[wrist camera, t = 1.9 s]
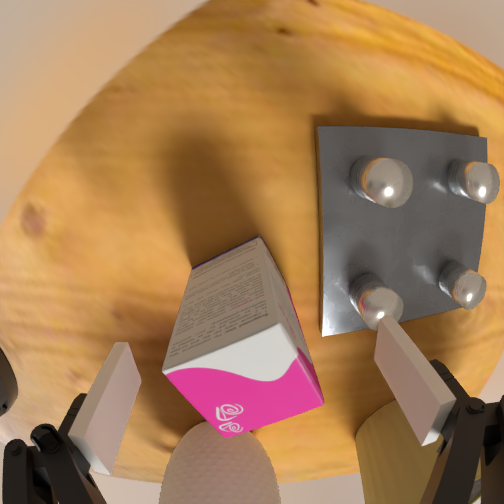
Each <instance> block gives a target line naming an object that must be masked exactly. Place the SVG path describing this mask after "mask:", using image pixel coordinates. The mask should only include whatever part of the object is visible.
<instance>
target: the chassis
mask: <svg viewBox="0 0 504 504" xmlns="http://www.w3.org/2000/svg"><path fill="white" fill-rule="evenodd" d="M314 131H315V145H316V160H317V178H318V200H319V231H320V325H319V330H320V332H321V335H322V336H328V335H335V334H341V333H347V332H352V331H358V330H364V329H369V328H370V329H372V330H374V331H378V327H379V319H380V318H385V317H390V316H393V318H394V319H395V320H396V321H397V323H399V322H404V321H408V320H413V319H417V318H421V317H426V316H430V315H434V314H438V313H442V312H446V311H450V310H454V309H458V308H461V307H463V308H464V309H466V310H470V309H473V308H475V307H476V306H477V305H478V304H479V303H480V302H481V300H482V299H483V297H484V295H485V291H486V280H485V279H484V278H483V277H482V276H481V275H479V274H477V272H478V266H479V260H480V254H481V247H482V239H483V231H484V221H485V210H486V204H489V203H491V202H492V201H494V199H495V198H496V196H497V194H498V191H499V186H500V180H499V175H498V172H497V170H496V168H495V167H494V166H493V165H491V164H488V163H487V138H484V137H478V136H471V135H464V134H456V133H448V132H439V131H429V130H418V129H404V128H387V127H359V126H318V127H314Z"/></svg>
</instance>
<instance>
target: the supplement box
mask: <svg viewBox="0 0 504 504" xmlns="http://www.w3.org/2000/svg"><path fill="white" fill-rule="evenodd" d="M162 372H163V374H165V375H166V377H167V378H168V379H169V380H170V382H171V383H172V384H173V385H174V386H175V387H176V388H177V389H178V390H179V392H180V393H181V394H182V395H183V396H184V397H185V398H186V399H187V400H188V401H189V402H190V403H191V405H192V406H193V407H194V408H195V409H196V410H197V411H198V412H199V413H200V414H201V415H202V416H203V417H204V418H205V419H206V420H207V421H208V422H209V423H210V424H211V425H212V426H213V427H214V428H215V429H216V430H217V431H218V432H219V433H220V434H221V435H222V436H223V437H224V438H227V437H231V436H235V435H238V434H242V433H245V432H248V431H251V430H254V429H257V428H260V427H263V426H266V425H269V424H272V423H275V422H278V421H281V420H284V419H287V418H289V417H292V416H295V415H298V414H301V413H303V412H306V411H309V410H311V409H314V408H317V407H319V406H322V405H323V404H324V397H323V394H322V391H321V388H320V385H319V381H318V378H317V375H316V372H315V369H314V366H313V363H312V360H311V356H310V353H309V350H308V347H307V344H306V341H305V338H304V335H303V332H302V329H301V326H300V323H299V320H298V316H297V313H296V311H295V308H294V305H293V302H292V299H291V295H290V292H289V290H288V288H287V286H286V284H285V282H284V279H283V277H282V275H281V273H280V271H279V270H278V268H277V266H276V264H275V262H274V260H273V258H272V256H271V254H270V252H269V250H268V248H267V246H266V245H265V243H264V241H263V239H262V237H261V236H260V235H259V236H257V237H254V238H252V239H250V240H248V241H246V242H244V243H242V244H240V245H238V246H236V247H234V248H232V249H230V250H228V251H226V252H224V253H222V254H220V255H218V256H216V257H213V258H211V259H209V260H207V261H205V262H203V263H201V264H199V265H197V266H195V267H193V268H192V270H191V273H190V276H189V280H188V283H187V286H186V289H185V293H184V296H183V299H182V302H181V305H180V309H179V312H178V315H177V319H176V322H175V325H174V329H173V332H172V336H171V339H170V343H169V346H168V350H167V353H166V357H165V361H164V364H163V367H162Z"/></svg>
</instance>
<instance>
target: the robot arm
mask: <svg viewBox="0 0 504 504" xmlns="http://www.w3.org/2000/svg"><path fill="white" fill-rule="evenodd" d="M374 361H375V363H376V364H377V366H378V368H379V369H380V371H381V373H382V375H383V376H384V378H385V380H386V382H387V384H388V385H389V387H390V389H391V391H392V392H393V394H394V396H395V398H396V400H397V401H398V403H399V405H400V407H401V409H402V411H403V412H404V414H405V416H406V418H407V420H408V422H409V423H410V425H411V427H412V429H413V431H414V433H415V435H416V437H417V439H418V440H419V442H420V444H421V446H424V445H427V444H429V443H432V442H435V441H436V440H437V438H438V436H439V434H440V433H441V434H442V436H443V438H444V439H443V441H442V443H441V445H440V446H439V448H438V450H437V452H439V453H438V456H437V459H436V462H435V465H434V467H433V470H432V473H431V476H430V478H429V481H428V484H427V486H426V489H425V491H424V494H423V496H422V499H421V501H420V503H419V504H468V502H469V499H470V496H471V492H472V488H473V485H474V481H475V477H476V473H477V468H478V464H479V459H480V464H481V504H504V395H503V396H502V398H501V400H500V402H495V403H487V404H485V403H484V402H483V401H482V400H481V399H478V398H475V397H469V395H468V394H467V393H466V391H465V390H464V389H463V388H462V386H461V385H460V384H459V382H458V381H457V380H456V379H455V378H454V376H453V375H452V374H451V373H450V371H449V370H448V369H447V367H446V366H445V365H444V364H443V363H441V362H439V361H438V360H432V361H428V360H427V359H426V358H425V356H424V355H423V354H422V352H421V351H420V350H419V349H418V347H417V346H416V345H415V344H414V342H413V341H412V340H411V339H410V337H409V336H408V335H407V334H406V332H405V331H404V330H403V329H402V327H401V326H400V325H399V324H398V323H397V321H396V320H395V319H394V318H393V316H390V317H385V318H380V319H379V327H378V334H377V341H376V348H375V354H374ZM141 382H142V380H141V377H140V375H139V372H138V369H137V367H136V364H135V361H134V358H133V355H132V352H131V349H130V347H129V344H128V342H115V343H114V345H113V347H112V349H111V351H110V353H109V354H108V356H107V358H106V360H105V362H104V364H103V365H102V367H101V369H100V371H99V373H98V375H97V377H96V379H95V381H94V383H93V384H92V386H91V388H90V390H89V392H88V394H85V393H81V394H80V395H79V396H77V397H76V398H75V399H74V401H73V402H72V404H71V406H70V409H69V410H68V412H67V415H66V416H65V418H64V420H63V422H62V424H61V426H60V428H59V430H58V432H57V430H56V429H55V427H54V426H53V425H51V424H46V423H45V424H41V425H39V426H37V427H35V428H34V430H33V431H32V433H31V435H30V437H31V441H32V442H33V443H34V445H35V446H27V445H26V444H25V442H24V441H23V440H21V439H14V440H11V441H10V442H8V443H7V445H6V446H5V449H4V459H3V484H2V485H3V486H2V488H3V490H2V496H3V497H2V499H3V504H58V502H59V504H107V503H106V501H105V499H104V498H103V496H102V494H101V492H100V491H99V489H98V487H97V485H96V484H95V482H94V480H93V478H92V476H91V474H90V473H89V469H90V466H91V467H92V468H93V469H94V470H95V472H97V473H102V474H107V475H111V474H112V471H113V467H114V464H115V461H116V457H117V454H118V451H119V448H120V445H121V441H122V438H123V435H124V432H125V429H126V426H127V423H128V420H129V417H130V414H131V411H132V408H133V405H134V402H135V399H136V396H137V393H138V391H139V388H140V385H141ZM17 395H18V388H17V383H16V379H15V376H14V374H13V371H12V369H11V367H10V365H9V363H8V361H7V360H6V358H5V356H4V355H3V353H2V352H1V350H0V416H2V415H3V414H5V413H6V412H7V411H9V409H10V408H11V406H12V405H13V403H14V402H15V400H16V399H17Z"/></svg>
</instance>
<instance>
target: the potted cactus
mask: <svg viewBox="0 0 504 504" xmlns="http://www.w3.org/2000/svg"><path fill="white" fill-rule="evenodd" d="M443 439H444V438H443V436H442V434H441V433H440V434H439V436H438V438H437V440H436V441H435V442H432V443H429V444H427V445H424V446H421V444H420V442H419V440H418V439H417V437H416V435H415V433H414V431H413V429H412V427H411V425H410V423H409V422H408V420H407V418H406V416H405V414H404V412H403V411H402V409H401V407H400V405H399V403H398V401H397V400H396V399H395V400H393V401H391V402H390V403H388V404H386V405H384V406H383V407H381V408H380V409H378V410H377V411H376V412H374V413H373V414H372V415H371V416H370V417H368V418H367V419H366V420H365V422H364V423H363V424H362V425H361V426H360V428H359V430H358V431H357V434H356V438H355V442H356V450H357V455H358V461H359V467H360V473H361V479H362V485H363V492H364V498H365V504H419V503H420V501H421V499H422V496H423V494H424V491H425V489H426V486H427V484H428V481H429V478H430V476H431V473H432V470H433V467H434V465H435V462H436V459H437V456H438V453H439V452H437V450H438V448H439V446H440V445H441V443H442V441H443ZM479 498H481V464H480V459H479V464H478V468H477V473H476V477H475V481H474V485H473V488H472V492H471V496H470V499H469V502H468V504H473V503H474V502H476V501H477V500H478V499H479Z"/></svg>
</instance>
